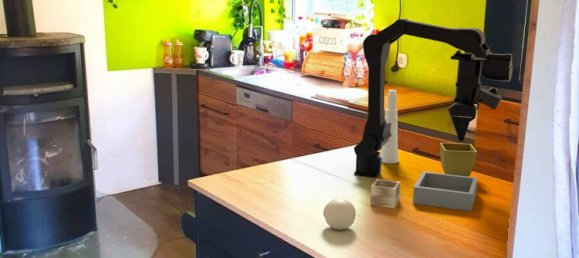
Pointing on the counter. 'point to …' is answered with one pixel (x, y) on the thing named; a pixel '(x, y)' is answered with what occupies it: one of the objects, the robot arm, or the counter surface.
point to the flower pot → (457, 158)
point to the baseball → (339, 213)
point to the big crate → (445, 191)
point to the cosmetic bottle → (391, 131)
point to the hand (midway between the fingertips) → (462, 136)
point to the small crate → (385, 193)
